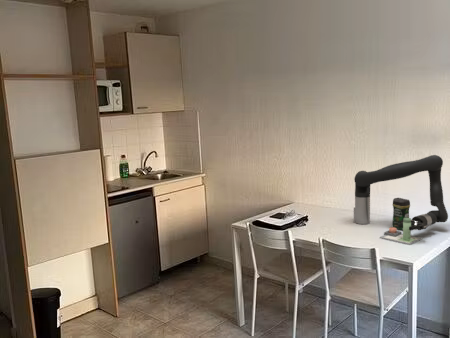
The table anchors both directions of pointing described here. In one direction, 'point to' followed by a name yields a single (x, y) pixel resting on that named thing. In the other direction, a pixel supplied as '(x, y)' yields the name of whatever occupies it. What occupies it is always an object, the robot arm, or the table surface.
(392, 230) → the button
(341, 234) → the table surface
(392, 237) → the board
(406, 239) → the marker
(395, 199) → the coffee jar
